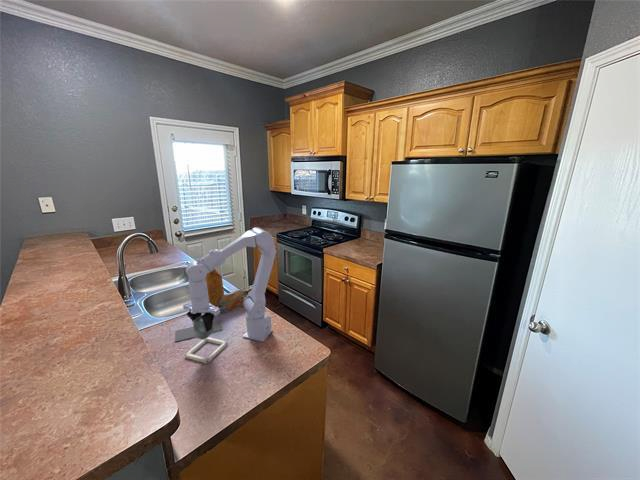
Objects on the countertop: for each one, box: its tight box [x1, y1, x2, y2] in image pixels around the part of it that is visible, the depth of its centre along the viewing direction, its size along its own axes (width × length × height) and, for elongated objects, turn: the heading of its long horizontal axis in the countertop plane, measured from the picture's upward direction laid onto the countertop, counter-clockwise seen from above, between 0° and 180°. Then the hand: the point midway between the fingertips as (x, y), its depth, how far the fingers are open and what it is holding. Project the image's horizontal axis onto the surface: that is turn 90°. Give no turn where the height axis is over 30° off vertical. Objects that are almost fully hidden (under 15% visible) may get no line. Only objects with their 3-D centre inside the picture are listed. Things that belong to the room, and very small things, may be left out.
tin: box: [216, 289, 248, 314], centre depth 126 cm, size 15×3×8 cm, turn 134°
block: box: [192, 313, 215, 341], centre depth 95 cm, size 4×5×7 cm
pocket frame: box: [184, 336, 228, 364], centre depth 98 cm, size 10×11×1 cm
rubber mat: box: [174, 319, 224, 343], centre depth 110 cm, size 18×8×1 cm, turn 116°
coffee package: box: [205, 268, 225, 307], centre depth 130 cm, size 10×12×22 cm
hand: (204, 328), depth 96 cm, fingers closed on block, 4 cm apart
